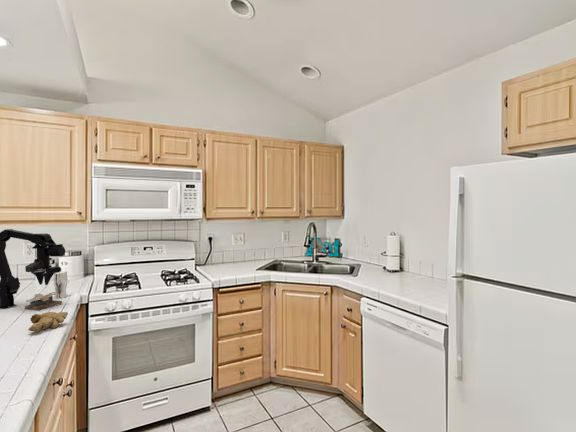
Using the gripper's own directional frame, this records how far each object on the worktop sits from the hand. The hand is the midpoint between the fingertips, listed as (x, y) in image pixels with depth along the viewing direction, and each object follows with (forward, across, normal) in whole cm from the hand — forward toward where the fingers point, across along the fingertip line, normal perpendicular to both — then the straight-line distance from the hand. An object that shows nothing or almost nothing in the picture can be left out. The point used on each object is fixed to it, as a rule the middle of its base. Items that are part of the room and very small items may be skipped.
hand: (43, 284), depth 181 cm
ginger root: (+12, +32, -24) cm, 42 cm away
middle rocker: (+7, -2, 0) cm, 7 cm away
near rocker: (+7, -2, -4) cm, 8 cm away
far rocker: (+7, -2, +4) cm, 8 cm away
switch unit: (+12, 0, 0) cm, 12 cm away
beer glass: (+12, -8, +17) cm, 22 cm away
